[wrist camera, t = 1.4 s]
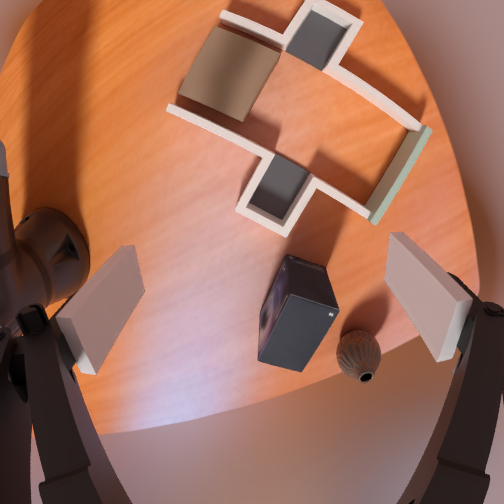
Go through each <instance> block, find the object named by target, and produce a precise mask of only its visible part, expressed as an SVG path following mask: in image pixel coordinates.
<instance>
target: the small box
mask: <svg viewBox="0 0 504 504" xmlns="http://www.w3.org/2000/svg"><path fill="white" fill-rule="evenodd" d="M339 311H340V310H339V307H338V304H337V301H336V298H335V295H334V292H333V289H332V286H331V283H330V280H329V277H328V274H327V270H326V267H323V266H319V265H317V264H313V263H311V262H307V261H305V260H302V259H300V258H297V257H293V256H290V255H286V256H285V258H284V261H283V263H282V265H281V267H280V270H279V272H278V274H277V276H276V279H275V281H274V283H273V285H272V288H271V290H270V292H269V294H268V296H267V299H266V301H265V303H264V305H263V307H262V310H261V312H260V322H259V342H258V359H257V360H258V361H260V362H263V363H267V364H270V365H274V366H278V367H282V368H286V369H290V370H294V371H298V372H302V371H303V369H304V368H305V366H306V365H307V363H308V362H309V360H310V359H311V357H312V356H313V354H314V353H315V351H316V349H317V348H318V346H319V345H320V343H321V341H322V340H323V338H324V337H325V335H326V333H327V332H328V330H329V328H330V327H331V325H332V323H333V322H334V320H335V318H336V317H337V315H338V313H339Z"/></svg>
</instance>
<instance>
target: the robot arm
mask: <svg viewBox="0 0 504 504" xmlns="http://www.w3.org/2000/svg"><path fill="white" fill-rule="evenodd" d="M8 178H9V173H8V171H7V162H6V150H5V146H4V144H3V142H2V141H1V140H0V504H31V485H30V452H31V433H32V424H33V429H34V434H35V439H36V444H37V448H38V452H39V456H40V461H41V465H42V468H43V472H44V475H45V481H44V482H41V483H40V484H39V492H40V496H41V499H42V502H43V504H132V502H131V501H130V499H129V497H128V496H127V494H126V492H125V490H124V488H123V486H122V485H121V483H120V481H119V479H118V477H117V475H116V473H115V471H114V469H113V467H112V465H111V463H110V461H109V459H108V457H107V455H106V453H105V450H104V448H103V446H102V444H101V442H100V439H99V437H98V435H97V432H96V430H95V428H94V425H93V423H92V420H91V418H90V415H89V413H88V410H87V407H86V405H85V402H84V399H83V396H82V393H81V391H80V388H79V385H78V382H77V378H76V375H75V373H74V371H73V369H72V367H73V366H74V364H75V362H76V363H77V365H78V367H79V369H80V371H81V373H86V374H93V375H97V373H98V371H99V369H100V367H101V366H102V364H103V362H104V360H105V358H106V357H107V355H108V353H109V351H110V350H111V348H112V346H113V344H114V343H115V341H116V339H117V337H118V336H119V334H120V332H121V330H122V329H123V327H124V325H125V324H126V322H127V320H128V319H129V317H130V315H131V314H132V312H133V310H134V309H135V307H136V305H137V304H138V302H139V300H140V299H141V297H142V296H143V294H144V292H145V289H144V285H143V281H142V276H141V272H140V268H139V263H138V259H137V254H136V250H135V245H129V246H121V247H120V248H119V249H118V250H117V251H116V252H115V253H114V254H113V255H112V256H111V257H110V258H109V259H108V260H107V261H106V262H105V263H104V264H103V266H102V267H101V268H100V269H99V270H98V271H97V272H96V273H95V274H94V275H93V276H92V277H91V278H90V279H89V280H88V281H87V282H86V280H87V277H88V274H89V268H90V260H89V253H88V249H87V246H86V243H85V241H84V238H83V236H82V234H81V233H80V231H79V229H78V228H77V227H76V225H75V224H74V223H73V222H72V221H71V220H70V219H69V218H68V217H67V216H66V215H64V214H63V213H61V212H60V211H58V210H55V209H52V208H40V209H37V210H35V211H33V212H31V213H29V214H28V215H26V216H25V217H24V218H23V219H22V220H21V221H20V223H19V224H18V225H17V227H16V228H15V229H14V227H13V220H12V213H11V205H10V195H9V182H8ZM384 281H385V282H386V284H387V285H388V287H389V288H390V289H391V291H392V292H393V294H394V295H395V297H396V298H397V300H398V301H399V303H400V304H401V306H402V307H403V309H404V310H405V312H406V313H407V315H408V317H409V318H410V320H411V321H412V323H413V324H414V326H415V328H416V329H417V331H418V332H419V334H420V335H421V337H422V339H423V340H424V342H425V344H426V345H427V347H428V349H429V350H430V352H431V354H432V355H433V357H434V359H435V360H436V362H439V361H444V360H448V359H452V357H453V355H454V352H455V350H456V347H458V349H459V350H460V352H461V354H460V357H459V359H458V362H457V364H456V366H455V368H454V371H453V373H452V374H454V376H453V379H452V382H451V386H450V388H449V392H448V394H447V398H446V400H445V403H444V406H443V409H442V411H441V414H440V417H439V419H438V422H437V424H436V427H435V429H434V431H433V434H432V436H431V438H430V441H429V443H428V445H427V448H426V450H425V452H424V454H423V456H422V458H421V460H420V462H419V465H418V466H417V468H416V471H415V472H414V474H413V476H412V478H411V480H410V482H409V484H408V486H407V487H406V489H405V491H404V493H403V494H402V496H401V498H400V499H399V501H398V502H397V504H483V502H484V499H485V496H486V493H487V490H488V487H489V483H490V475H488V474H485V468H486V464H487V461H488V457H489V454H490V450H491V446H492V441H493V437H494V433H495V428H496V423H497V419H498V413H499V407H500V401H501V395H502V394H503V403H504V309H503V308H502V307H501V306H499V305H498V304H495V303H493V302H482V301H481V300H480V299H479V298H478V297H477V296H476V295H475V294H474V293H473V292H472V291H471V290H470V289H468V287H467V286H466V285H465V284H464V283H463V282H462V281H461V280H460V279H459V278H458V277H456V276H455V275H453V274H451V273H449V272H446V271H445V270H444V269H443V268H442V267H441V266H439V265H438V264H437V263H436V262H435V261H434V260H433V259H432V258H431V257H430V256H429V255H428V254H427V253H426V252H425V251H423V250H422V249H421V248H420V247H419V246H418V245H417V244H416V243H415V242H413V241H412V240H411V239H410V238H409V237H408V236H407V235H406V234H404V233H403V232H393V233H390V238H389V247H388V256H387V264H386V272H385V279H384ZM85 282H86V283H85ZM84 283H85V284H84ZM83 285H84V286H83ZM82 286H83V287H82ZM81 287H82V288H81ZM80 288H81V289H80ZM79 289H80V290H79ZM78 290H79V291H78ZM65 298H68V299H67V300H66V301H65V303H64V304H63V305H62V306H61V308H59V309H58V310H57V312H56V313H55V314H54V315H53V316H52V317H51V318H50V320H49V319H48V317H47V314H46V312H45V308H46V307H47V306H48V305H50V304H53V303H55V302H58V301H60V300H62V299H65ZM22 334H23V336H22Z"/></svg>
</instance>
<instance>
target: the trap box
mask: <svg viewBox="0 0 504 504" xmlns="http://www.w3.org/2000/svg"><path fill="white" fill-rule="evenodd" d="M219 17H220V19H221V22H222V24H224V25H227V26H230V27H232V28H235V29H237V30H239V31H242V32H244V33H247V34H249V35H251V36H254V37H256V38H258V39H260V40H262V41H265V42H267V43H269V44H271V45H273V46H275V47H277V48H279V49H281V50H283V51H285V52H287V53H289V54H291V55H293V56H295V57H297V58H299V59H301V60H303V61H305V62H306V63H308V64H310V65H312V66H314V67H315V68H317V69H319V70H321V71H322V72H324V73H326V74H328V75H329V76H331V77H333V78H334V79H336V80H337V81H339V82H341V83H342V84H344V85H346V86H347V87H349V88H350V89H352V90H353V91H355V92H356V93H358V94H359V95H361V96H362V97H364V98H365V99H367V100H368V101H370V102H371V103H373V104H374V105H376V106H377V107H378V108H380V109H381V110H383V111H384V112H385V113H387V114H388V115H389V116H391V117H392V118H393V119H395V120H396V121H397V122H399V123H400V124H401V125H403V126H404V127H405V128H406V129H408V130H409V132H408V134H407V136H406V137H405V139H404V141H403V143H402V145H401V146H400V148H399V150H398V151H397V153H396V155H395V157H394V158H393V160H392V162H391V163H390V165H389V167H388V168H387V170H386V172H385V173H384V175H383V177H382V178H381V180H380V182H379V183H378V185H377V187H376V188H375V190H374V192H373V193H372V195H371V196H370V198H369V200H368V201H367V203H366V204H365V206H364V205H362V204H360V203H359V202H357V201H356V200H354V199H353V198H351V197H349V196H348V195H346V194H345V193H343V192H342V191H340V190H338V189H337V188H335V187H333V186H332V185H330V184H328V183H327V182H325V181H323V180H322V179H320V178H318V177H317V176H315V175H313V174H312V173H310V172H308V171H306V170H305V169H303V168H301V167H300V166H298V165H296V164H294V163H292V162H291V161H289V160H287V159H285V158H283V157H282V156H280V155H278V154H276V153H274V152H273V151H271V150H269V149H267V148H265V147H263V146H261V145H259V144H257V143H256V142H254V141H252V140H250V139H248V138H246V137H244V136H242V135H240V134H238V133H236V132H234V131H232V130H230V129H228V128H226V127H224V126H222V125H220V124H218V123H216V122H213V121H211V120H209V119H207V118H205V117H203V116H201V115H198V114H196V113H194V112H192V111H190V110H187V109H185V108H183V107H181V106H178V105H176V104H171V103H169V105H168V107H167V109H166V111H167V112H169V113H171V114H174V115H176V116H178V117H180V118H183V119H185V120H187V121H189V122H191V123H193V124H196V125H198V126H200V127H202V128H204V129H206V130H208V131H210V132H212V133H214V134H217V135H219V136H221V137H223V138H225V139H227V140H229V141H231V142H233V143H235V144H237V145H239V146H241V147H243V148H245V149H246V150H248V151H250V152H252V153H254V154H256V155H258V156H260V157H262V158H261V160H260V162H259V164H258V166H257V167H256V169H255V171H254V173H253V175H252V176H251V178H250V180H249V182H248V184H247V186H246V187H245V189H244V191H243V193H242V195H241V197H240V198H239V200H238V202H237V204H236V207H235V210H234V211H236V212H238V213H240V214H242V215H243V216H245V217H247V218H249V219H251V220H253V221H255V222H257V223H259V224H261V225H263V226H265V227H267V228H268V229H270V230H272V231H274V232H276V233H278V234H280V235H282V236H284V237H287V236H288V234H289V233H290V231H291V229H292V228H293V226H294V224H295V223H296V221H297V220H298V218H299V216H300V215H301V213H302V211H303V210H304V208H305V206H306V205H307V203H308V201H309V200H310V198H311V196H312V195H313V193H314V192H315V190H316V188H317V189H319V190H321V191H322V192H324V193H326V194H327V195H329V196H331V197H332V198H334V199H336V200H337V201H339V202H341V203H342V204H344V205H345V206H347V207H349V208H350V209H352V210H353V211H355V212H357V213H358V214H360V215H361V216H363V217H365V218H366V219H368V220H369V221H370V222H371V223H372V224H374V225H375V226H376V225H377V224H378V222H379V221H380V219H381V218H382V216H383V214H384V213H385V211H386V210H387V208H388V207H389V205H390V203H391V202H392V200H393V199H394V197H395V195H396V194H397V192H398V190H399V189H400V187H401V185H402V184H403V182H404V180H405V179H406V177H407V175H408V174H409V172H410V170H411V169H412V167H413V165H414V164H415V162H416V160H417V158H418V157H419V155H420V153H421V151H422V149H423V148H424V146H425V144H426V142H427V140H428V139H429V137H430V135H431V133H432V130H431V129H430V128H429V127H428V126H423V125H422V124H421V123H420V122H418V121H417V120H416V119H415V118H413V117H412V116H411V115H410V114H408V113H407V112H406V111H405V110H403V109H402V108H401V107H399V106H398V105H397V104H395V103H394V102H393V101H391V100H390V99H389V98H387V97H386V96H385V95H383V94H382V93H380V92H379V91H378V90H376V89H375V88H373V87H372V86H370V85H369V84H368V83H366V82H365V81H363V80H362V79H360V78H359V77H357V76H355V75H354V74H352V73H351V72H349V71H348V70H346V69H344V68H343V67H341V66H339V65H338V64H339V63H340V61H341V59H342V58H343V56H344V54H345V53H346V51H347V49H348V48H349V46H350V44H351V43H352V41H353V39H354V38H355V36H356V34H357V33H358V31H359V29H360V28H361V26H362V25H363V23H364V22H362V21H361V20H359V19H358V18H356V17H354V16H353V15H351V14H349V13H347V12H346V11H344V10H342V9H340V8H339V7H337V6H335V5H333V4H331V3H329V2H328V1H326V0H305V2H304V3H303V5H302V6H301V8H300V9H299V11H298V12H297V14H296V15H295V17H294V18H293V20H292V21H291V23H290V24H289V26H288V27H287V29H286V30H285V32H284V34H283V35H282V34H280V33H278V32H276V31H274V30H272V29H270V28H267V27H265V26H263V25H261V24H258V23H256V22H254V21H251V20H249V19H246V18H244V17H241V16H239V15H236V14H234V13H231V12H229V11H226V10H223V11H222V12H221V14H220V15H219Z"/></svg>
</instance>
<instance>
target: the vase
mask: <svg viewBox="0 0 504 504" xmlns="http://www.w3.org/2000/svg"><path fill="white" fill-rule="evenodd" d="M336 355H337V361H338V364H339V366H340V368H341V370H342V371H343V372H344V373H345V374H346V375H347V376H349V377H351V378H354V379H357V380H358V381H359V382H361V383H367V382H370V381H371V380H372V379H373V378H374V375H375V372H376V370H377V368H378V367H379V364H380V361H381V350H380V346H379V344H378V342H377V340H376V339H375V337H374V336H373V335H371V334H370V333H369V332H367V331H364V330H354V331H351V332H349V333H347V334H345V335H344V336H343V337H342V338H341V340H340V341H339V343H338V346H337V352H336Z"/></svg>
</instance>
